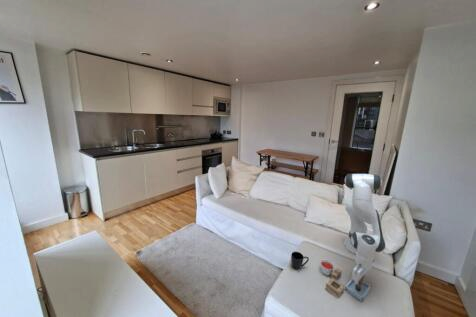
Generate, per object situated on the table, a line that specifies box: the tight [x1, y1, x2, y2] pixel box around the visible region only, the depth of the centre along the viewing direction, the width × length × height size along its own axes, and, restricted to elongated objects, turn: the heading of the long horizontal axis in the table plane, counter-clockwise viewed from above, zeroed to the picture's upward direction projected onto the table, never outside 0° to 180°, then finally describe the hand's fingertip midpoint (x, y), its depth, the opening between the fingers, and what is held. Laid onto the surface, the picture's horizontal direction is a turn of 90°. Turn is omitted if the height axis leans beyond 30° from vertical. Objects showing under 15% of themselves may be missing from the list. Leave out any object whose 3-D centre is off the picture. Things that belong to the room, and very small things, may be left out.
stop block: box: [330, 267, 342, 281], centre depth 132 cm, size 8×3×5 cm, turn 129°
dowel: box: [355, 277, 364, 291], centre depth 123 cm, size 3×3×10 cm
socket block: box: [324, 277, 346, 299], centre depth 123 cm, size 8×8×4 cm
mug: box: [290, 251, 309, 271], centre depth 140 cm, size 8×12×10 cm
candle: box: [320, 259, 335, 276], centre depth 137 cm, size 9×9×6 cm
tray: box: [344, 278, 372, 303], centre depth 124 cm, size 14×10×3 cm
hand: (359, 279), depth 122 cm, fingers open, 8 cm apart
